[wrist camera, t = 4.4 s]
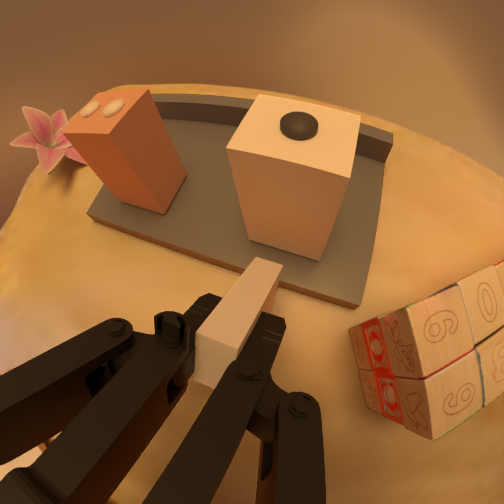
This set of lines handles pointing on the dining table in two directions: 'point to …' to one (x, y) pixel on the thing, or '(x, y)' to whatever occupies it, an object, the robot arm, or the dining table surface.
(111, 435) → the robot arm
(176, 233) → the tray
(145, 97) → the key two
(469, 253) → the dining table surface
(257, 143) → the key one
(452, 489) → the dining table surface
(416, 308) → the stack of blocks
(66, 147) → the lily
